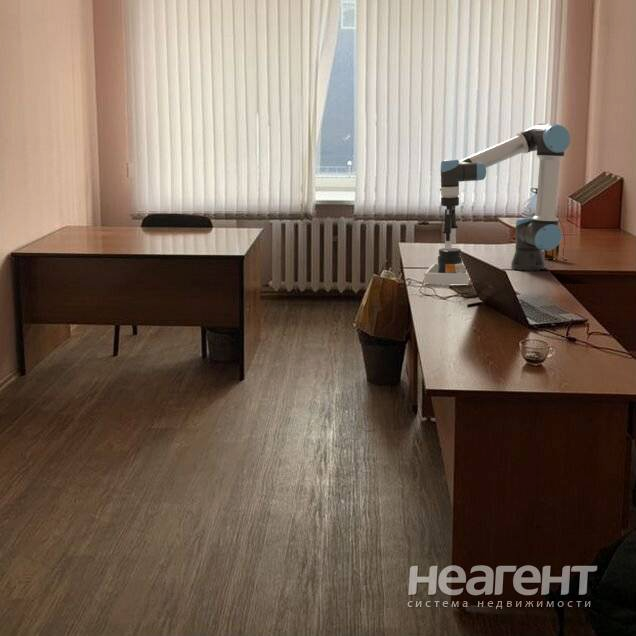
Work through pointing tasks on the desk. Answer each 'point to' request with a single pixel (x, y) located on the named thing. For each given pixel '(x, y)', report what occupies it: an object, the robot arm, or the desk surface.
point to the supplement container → (449, 261)
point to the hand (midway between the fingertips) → (450, 246)
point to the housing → (445, 276)
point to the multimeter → (553, 251)
